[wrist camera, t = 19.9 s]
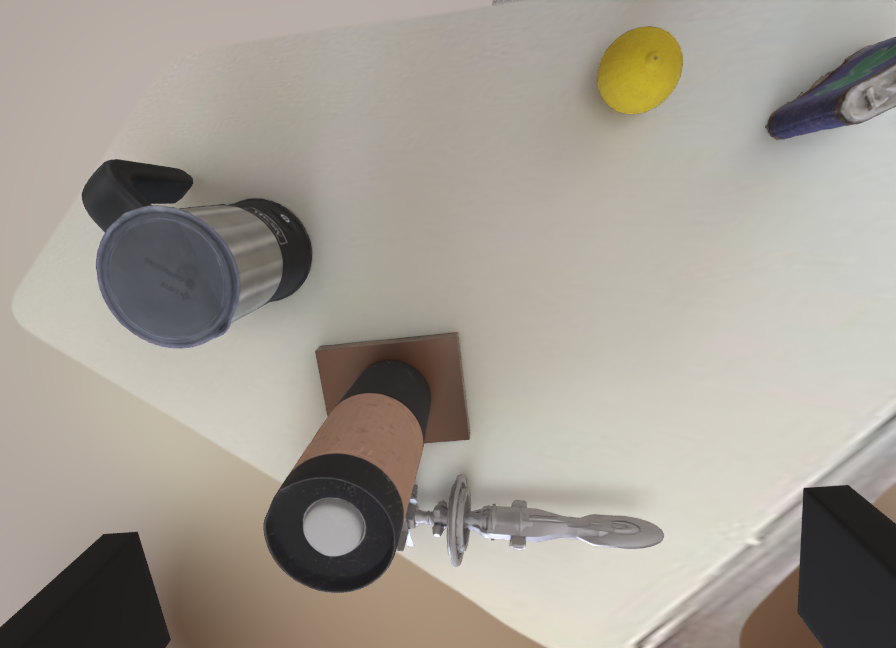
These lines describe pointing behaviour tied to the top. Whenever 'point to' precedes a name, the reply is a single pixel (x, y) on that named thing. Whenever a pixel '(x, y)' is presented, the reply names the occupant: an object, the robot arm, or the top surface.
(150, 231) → the milk frother
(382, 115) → the top surface
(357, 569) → the travel mug
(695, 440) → the top surface
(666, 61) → the lemon
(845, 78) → the flask
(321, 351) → the serving board
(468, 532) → the spaceship
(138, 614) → the robot arm
